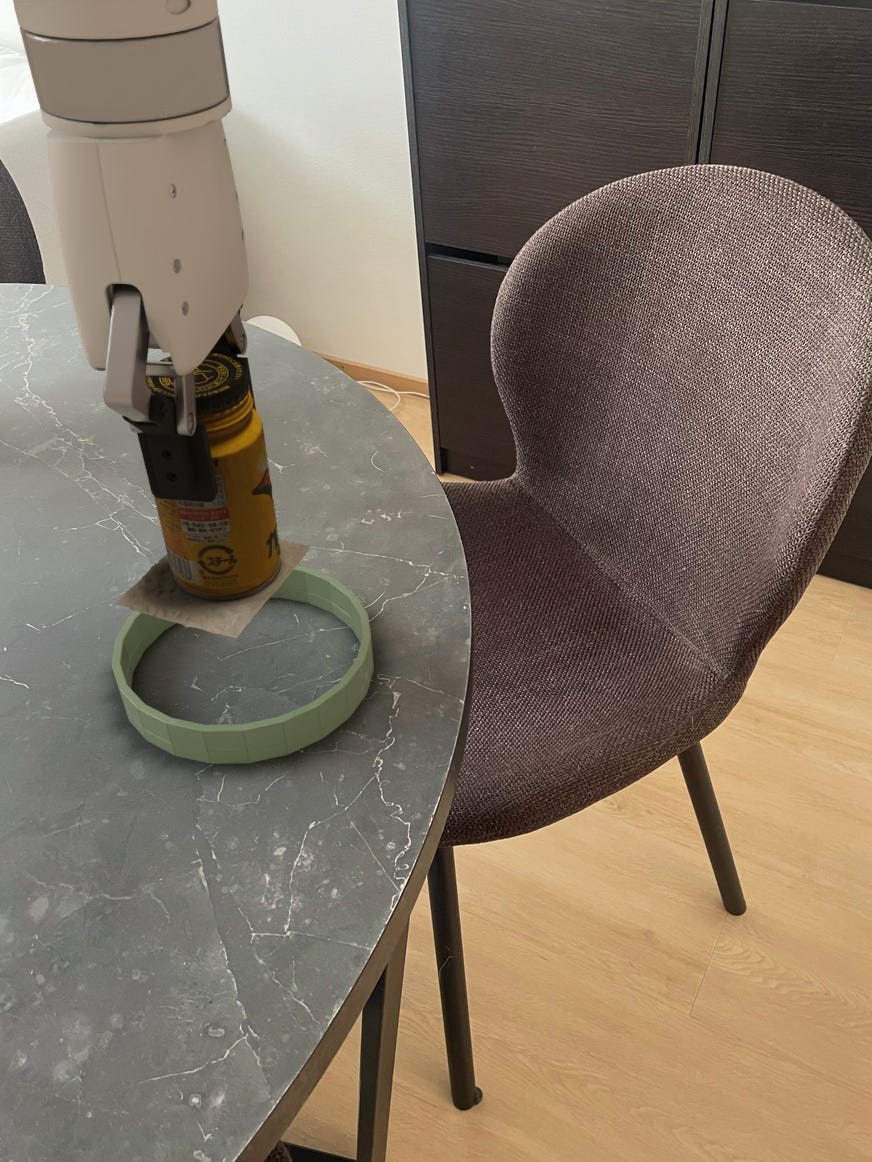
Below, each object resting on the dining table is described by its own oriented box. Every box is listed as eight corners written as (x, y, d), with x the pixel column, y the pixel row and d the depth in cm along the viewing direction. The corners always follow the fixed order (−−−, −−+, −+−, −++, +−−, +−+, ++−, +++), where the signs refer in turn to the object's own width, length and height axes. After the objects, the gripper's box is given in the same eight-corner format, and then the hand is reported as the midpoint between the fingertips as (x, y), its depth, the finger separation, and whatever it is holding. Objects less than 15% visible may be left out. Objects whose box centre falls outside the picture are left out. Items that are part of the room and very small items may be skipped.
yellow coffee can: (311, 549, 60) (288, 355, 52) (236, 641, 54) (197, 438, 46) (200, 522, 62) (162, 331, 54) (116, 608, 56) (59, 408, 48)
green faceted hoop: (87, 767, 59) (69, 718, 57) (176, 599, 71) (165, 552, 68) (345, 792, 58) (338, 743, 55) (394, 617, 69) (391, 570, 67)
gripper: (122, 22, 48) (192, 376, 60) (-68, 133, 36) (69, 555, 47) (280, 27, 48) (319, 384, 60) (144, 142, 35) (228, 568, 47)
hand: (207, 457), depth 53 cm, fingers closed on yellow coffee can, 6 cm apart
